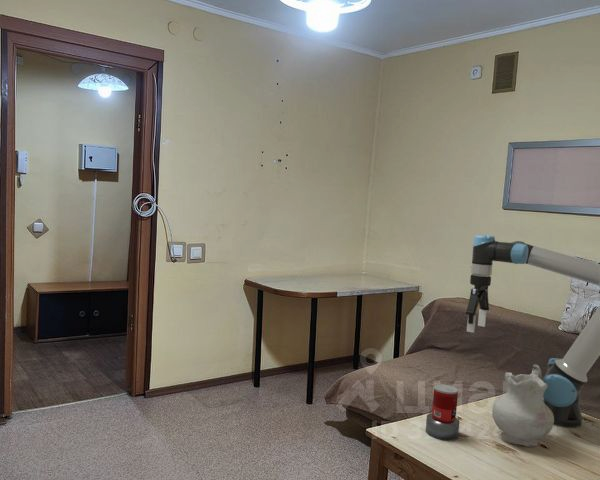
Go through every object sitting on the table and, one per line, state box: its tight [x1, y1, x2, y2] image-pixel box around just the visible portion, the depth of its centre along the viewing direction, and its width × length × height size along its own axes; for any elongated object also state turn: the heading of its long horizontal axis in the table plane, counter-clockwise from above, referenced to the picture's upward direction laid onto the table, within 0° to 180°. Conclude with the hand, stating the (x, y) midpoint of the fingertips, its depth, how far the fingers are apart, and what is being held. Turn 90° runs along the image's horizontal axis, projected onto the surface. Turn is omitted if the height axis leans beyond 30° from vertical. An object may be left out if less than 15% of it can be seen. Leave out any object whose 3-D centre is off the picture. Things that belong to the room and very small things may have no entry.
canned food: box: [431, 383, 459, 423], centre depth 178 cm, size 8×8×11 cm
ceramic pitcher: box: [491, 363, 555, 448], centre depth 178 cm, size 22×20×25 cm
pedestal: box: [425, 412, 460, 442], centre depth 179 cm, size 11×11×5 cm
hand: (476, 329), depth 201 cm, fingers open, 13 cm apart
